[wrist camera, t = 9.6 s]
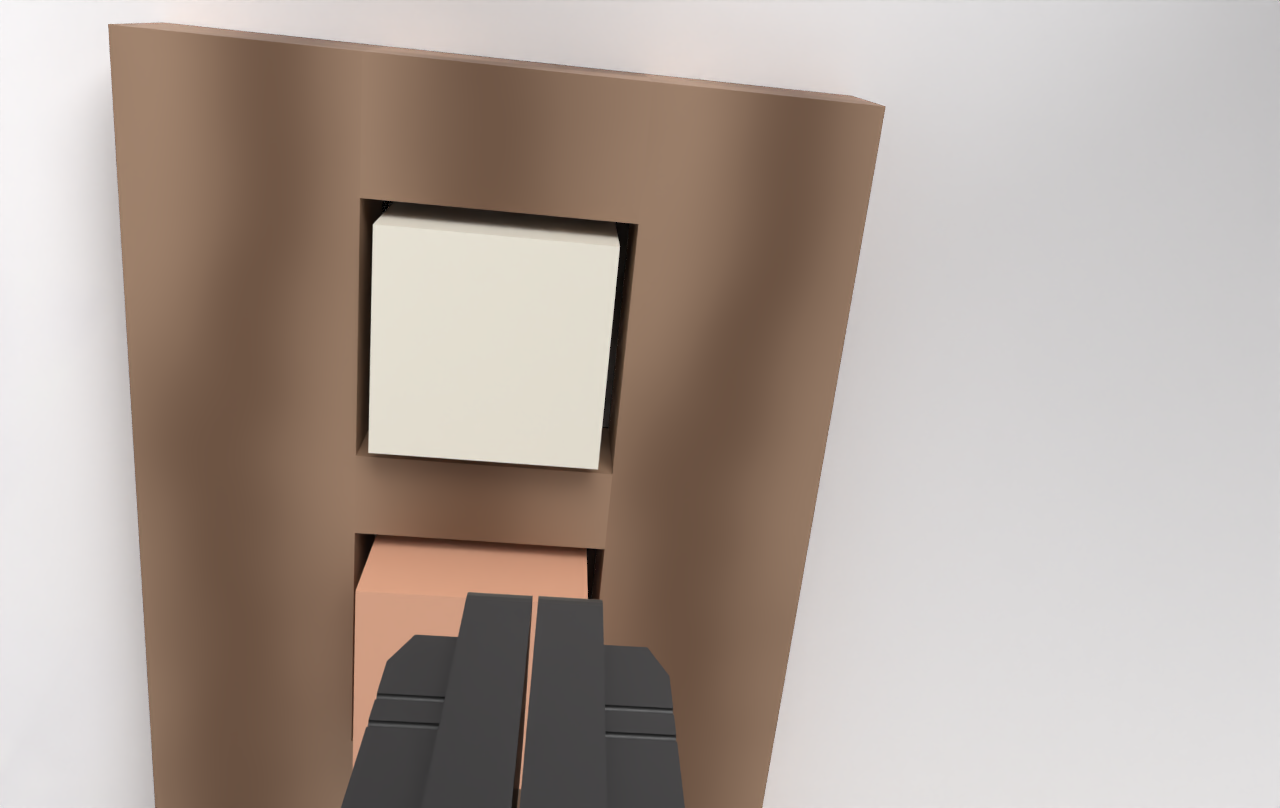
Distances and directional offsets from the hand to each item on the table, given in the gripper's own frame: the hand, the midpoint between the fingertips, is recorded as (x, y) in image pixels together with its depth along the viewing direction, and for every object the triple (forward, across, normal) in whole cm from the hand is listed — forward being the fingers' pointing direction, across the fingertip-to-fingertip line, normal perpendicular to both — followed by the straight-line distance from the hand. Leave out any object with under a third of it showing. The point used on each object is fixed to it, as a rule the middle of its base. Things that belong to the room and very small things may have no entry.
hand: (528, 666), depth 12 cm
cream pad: (+15, +2, 0) cm, 15 cm away
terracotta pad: (+14, +2, +8) cm, 16 cm away
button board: (+16, +2, +8) cm, 18 cm away
